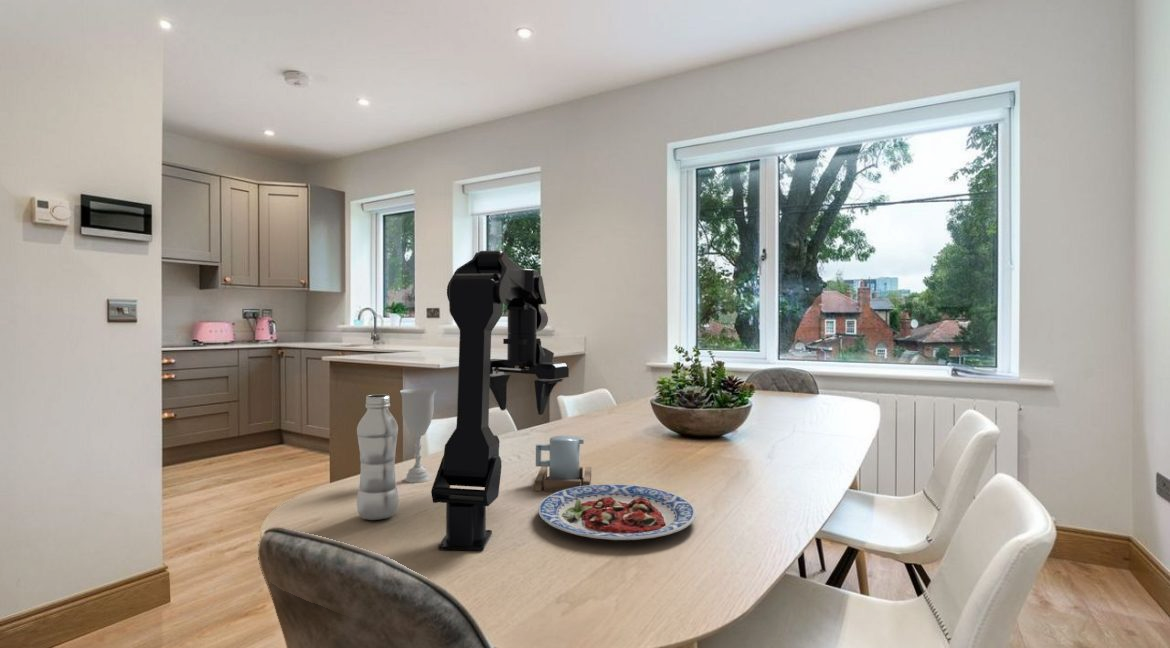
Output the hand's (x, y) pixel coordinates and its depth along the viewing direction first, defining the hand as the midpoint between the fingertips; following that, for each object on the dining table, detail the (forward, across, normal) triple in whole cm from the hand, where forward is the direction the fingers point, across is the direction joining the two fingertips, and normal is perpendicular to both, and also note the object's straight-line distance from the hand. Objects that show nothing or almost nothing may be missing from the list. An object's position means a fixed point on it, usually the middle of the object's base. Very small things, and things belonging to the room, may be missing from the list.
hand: (521, 412), depth 111 cm
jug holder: (+14, -7, -5) cm, 17 cm away
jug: (+14, -7, -5) cm, 17 cm away
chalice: (+14, +20, +8) cm, 26 cm away
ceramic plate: (+15, -25, +7) cm, 30 cm away
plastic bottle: (+14, +9, +27) cm, 32 cm away
